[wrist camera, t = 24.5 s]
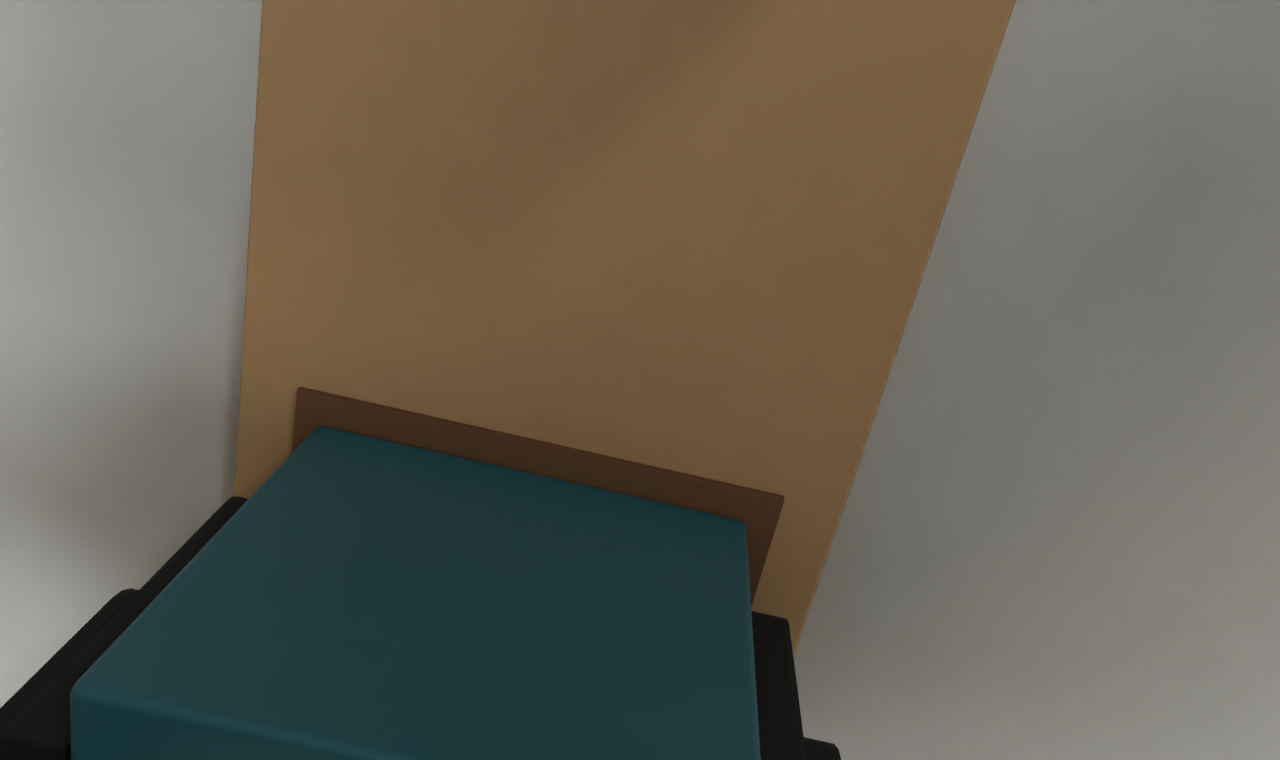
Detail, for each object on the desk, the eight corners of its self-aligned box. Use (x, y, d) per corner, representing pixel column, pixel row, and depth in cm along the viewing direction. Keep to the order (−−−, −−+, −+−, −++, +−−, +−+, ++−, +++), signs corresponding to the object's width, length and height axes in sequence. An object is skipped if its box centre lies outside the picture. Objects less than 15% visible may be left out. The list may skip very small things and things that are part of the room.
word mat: (357, -1267, 6) (331, -1366, 6) (1347, -1024, 7) (1396, -1101, 6) (231, 739, 13) (213, 766, 13) (720, 847, 13) (721, 878, 13)
